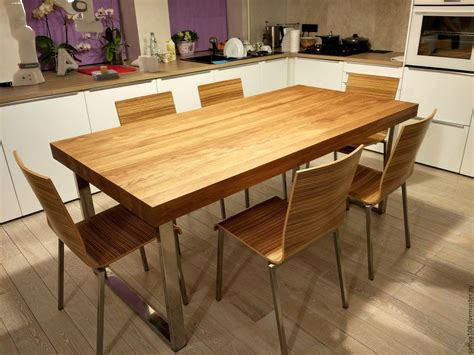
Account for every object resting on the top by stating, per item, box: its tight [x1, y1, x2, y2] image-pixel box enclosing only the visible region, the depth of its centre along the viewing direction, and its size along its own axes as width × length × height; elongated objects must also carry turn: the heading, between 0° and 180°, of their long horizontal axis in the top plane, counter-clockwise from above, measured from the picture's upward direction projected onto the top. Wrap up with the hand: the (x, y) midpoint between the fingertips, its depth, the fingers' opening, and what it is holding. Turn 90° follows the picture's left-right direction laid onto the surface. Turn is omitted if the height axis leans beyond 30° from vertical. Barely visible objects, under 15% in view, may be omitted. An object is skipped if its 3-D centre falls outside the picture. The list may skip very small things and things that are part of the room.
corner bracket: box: [137, 54, 160, 73], centre depth 318 cm, size 11×11×12 cm
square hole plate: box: [91, 69, 120, 81], centre depth 298 cm, size 16×16×4 cm
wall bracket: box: [57, 47, 79, 77], centre depth 326 cm, size 22×4×30 cm
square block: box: [100, 65, 109, 73], centre depth 297 cm, size 4×4×8 cm
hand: (90, 38), depth 305 cm, fingers open, 8 cm apart
